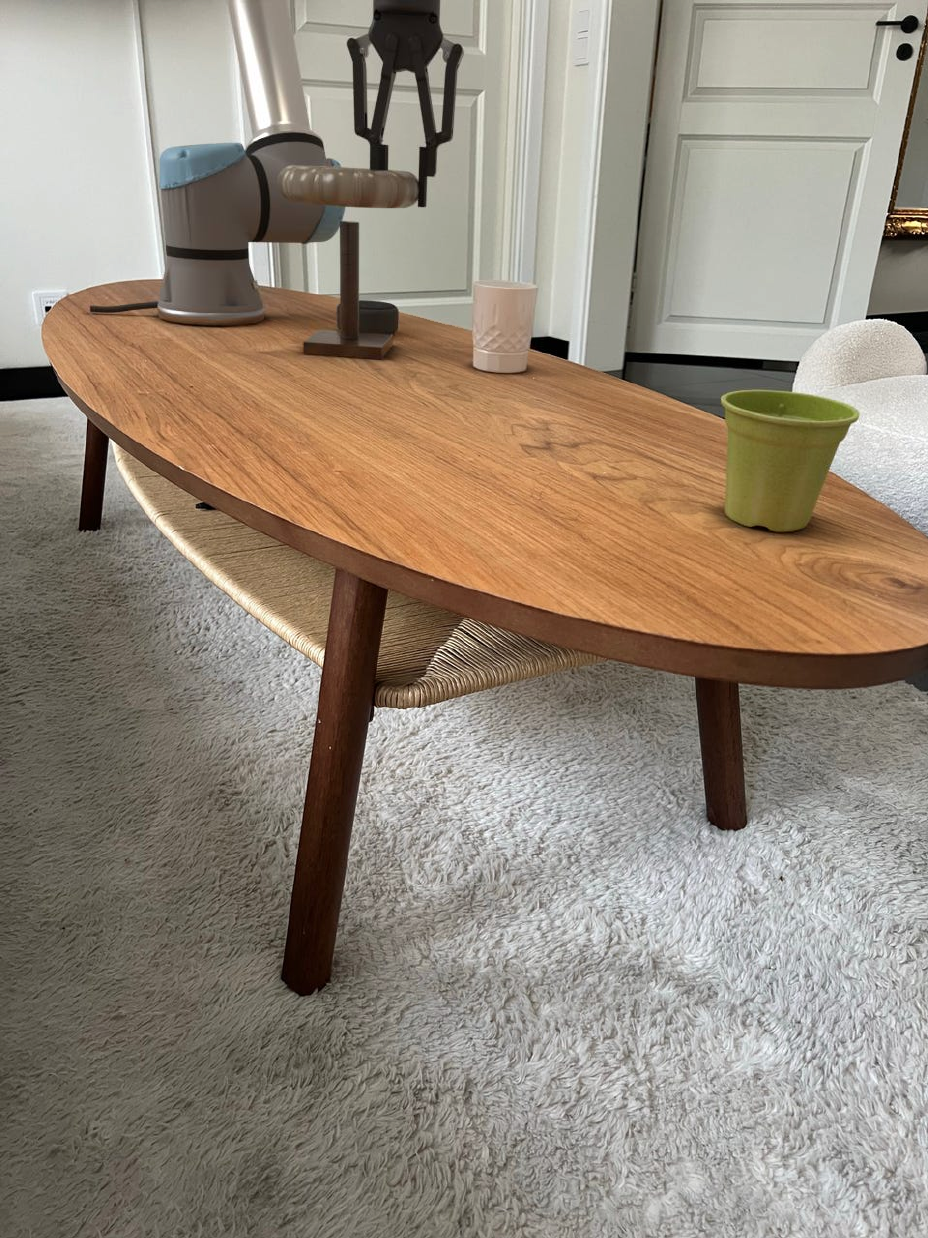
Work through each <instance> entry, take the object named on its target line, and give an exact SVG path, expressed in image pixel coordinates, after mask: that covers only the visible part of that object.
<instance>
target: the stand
mask: <svg viewBox="0 0 928 1238" xmlns="http://www.w3.org/2000/svg"><path fill="white" fill-rule="evenodd" d="M359 300H360V221H353V220H342V221H340V227H339V304H340V330H334V329H333V330H332V329H319V330H318V331H316V332H315V333H314V334H312V335H311V336H310V337H308V338H306V339H305V340H304V341H303V342H302V345H303V347H302V348H303V349H302V352H303V354H304V355H314V356H329V357H330V356H331V357H342V358H356V359H368V360H369V359H370V360H382V359H383V358H384V357H385V356H386V354H387V353H388V352H389V351H390V350H391V348H392V347H393V345H394V334H376V333H362V332H359Z"/></svg>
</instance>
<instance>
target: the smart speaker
mask: <svg viewBox="0 0 928 1238" xmlns="http://www.w3.org/2000/svg"><path fill="white" fill-rule="evenodd" d="M399 314H400V311H399V308H398V307H397V305H395V304H393V303H390V302H386V301H380V300H367V299H365V300H364V299H362V300H361V299H359V332H362V333H376V334H391V335H394V334H395V333H396V332H397V331H398V329H399V321H400V320H399V318H400V317H399ZM336 327H337V328H338V331H340V303H339V304H338V305H337V306H336Z"/></svg>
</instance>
